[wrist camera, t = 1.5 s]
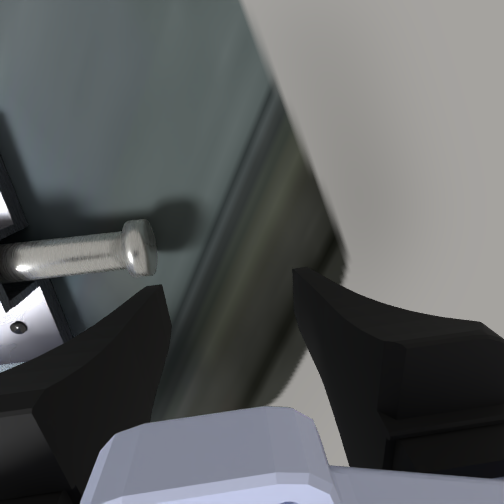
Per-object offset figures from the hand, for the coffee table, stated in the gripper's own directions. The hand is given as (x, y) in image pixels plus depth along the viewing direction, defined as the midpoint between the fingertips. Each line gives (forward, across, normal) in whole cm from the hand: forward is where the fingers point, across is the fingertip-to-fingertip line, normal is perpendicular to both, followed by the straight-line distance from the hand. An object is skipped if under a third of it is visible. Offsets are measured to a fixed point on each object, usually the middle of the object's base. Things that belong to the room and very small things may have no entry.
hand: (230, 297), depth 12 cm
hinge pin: (+9, +12, 0) cm, 15 cm away
